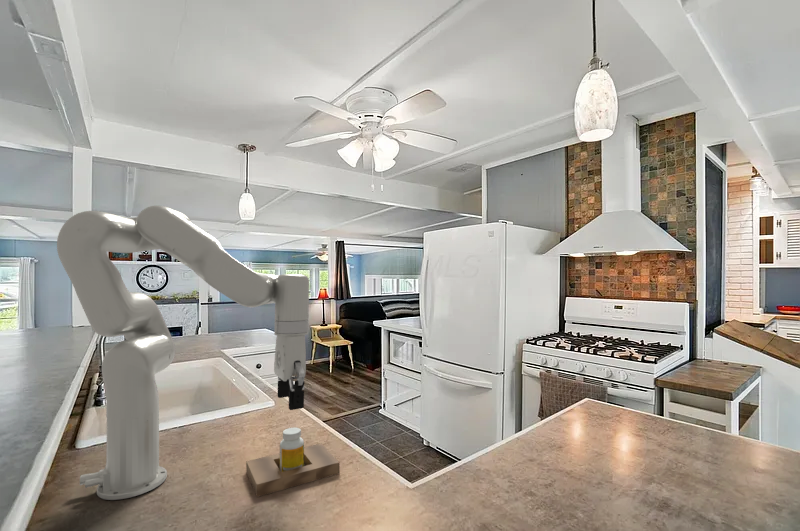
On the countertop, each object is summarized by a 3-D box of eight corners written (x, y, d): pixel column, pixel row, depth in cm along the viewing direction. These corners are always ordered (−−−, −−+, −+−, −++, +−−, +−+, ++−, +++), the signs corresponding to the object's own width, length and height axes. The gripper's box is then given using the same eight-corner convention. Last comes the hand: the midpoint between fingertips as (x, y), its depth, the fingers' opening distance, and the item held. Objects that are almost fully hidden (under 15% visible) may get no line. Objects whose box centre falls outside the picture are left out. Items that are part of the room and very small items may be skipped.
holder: (256, 497, 80) (256, 484, 81) (246, 472, 91) (246, 461, 91) (339, 473, 90) (339, 462, 90) (321, 453, 100) (321, 443, 100)
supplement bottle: (275, 472, 91) (275, 430, 91) (297, 465, 94) (297, 424, 94) (285, 481, 86) (285, 437, 87) (308, 473, 90) (307, 431, 90)
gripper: (266, 324, 97) (264, 395, 96) (285, 333, 82) (283, 417, 81) (296, 322, 100) (295, 390, 100) (319, 331, 86) (318, 411, 85)
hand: (290, 402), depth 91 cm, fingers open, 9 cm apart
